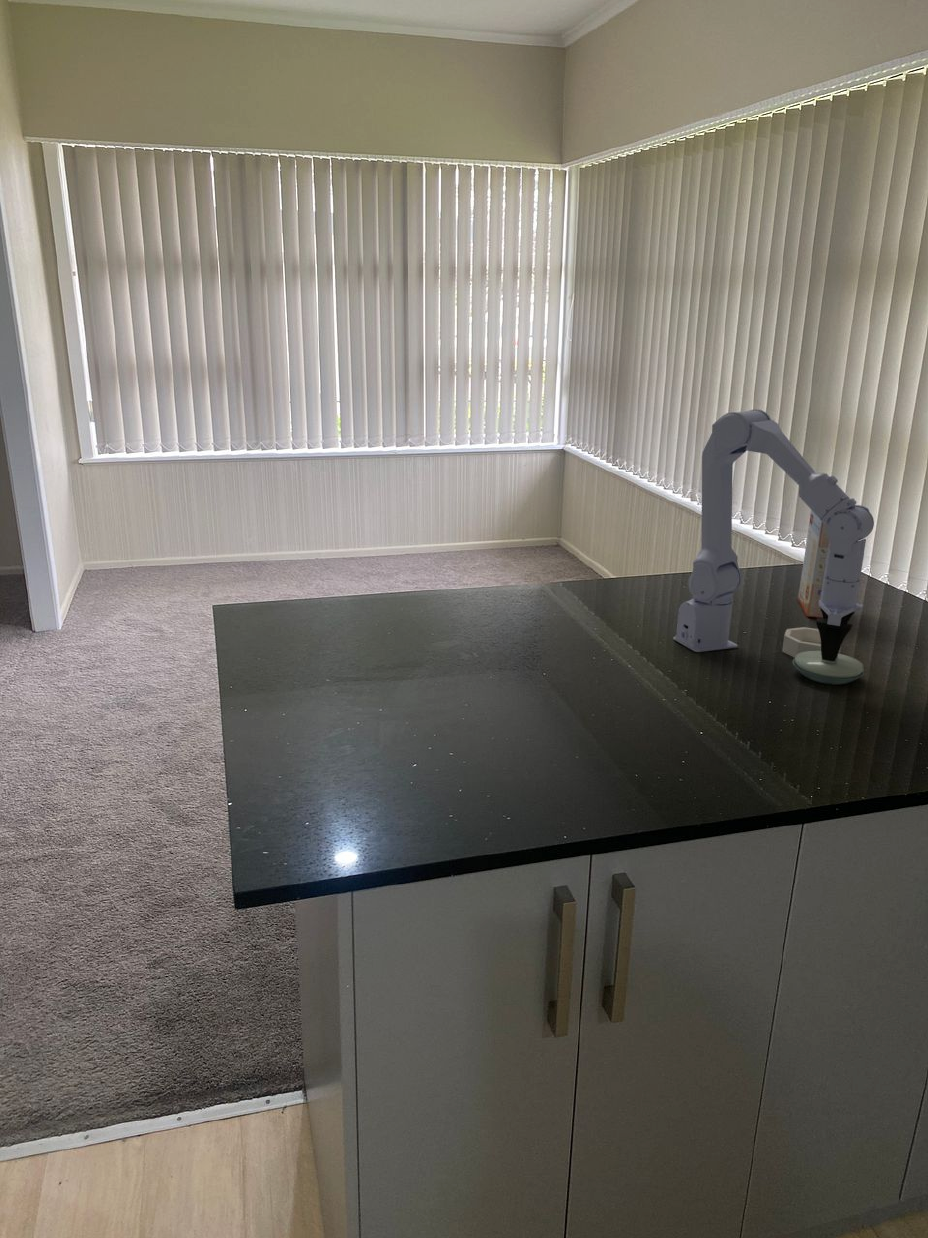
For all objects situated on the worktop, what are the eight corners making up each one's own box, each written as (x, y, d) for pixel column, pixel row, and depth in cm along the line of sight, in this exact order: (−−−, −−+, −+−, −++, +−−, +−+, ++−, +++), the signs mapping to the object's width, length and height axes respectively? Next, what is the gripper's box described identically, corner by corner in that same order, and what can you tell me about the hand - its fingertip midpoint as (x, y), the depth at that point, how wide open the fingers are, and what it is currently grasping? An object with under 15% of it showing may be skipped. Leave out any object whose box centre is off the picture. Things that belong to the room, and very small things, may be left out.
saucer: (805, 661, 173) (806, 649, 173) (871, 677, 166) (873, 665, 166) (780, 678, 165) (782, 666, 164) (849, 696, 158) (851, 684, 157)
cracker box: (835, 620, 197) (851, 522, 190) (805, 617, 198) (820, 520, 191) (825, 601, 210) (839, 508, 203) (797, 599, 211) (810, 506, 204)
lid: (821, 680, 158) (824, 659, 157) (781, 657, 168) (784, 637, 167) (876, 674, 161) (880, 654, 160) (834, 652, 171) (837, 633, 170)
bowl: (807, 664, 171) (810, 647, 170) (772, 646, 180) (774, 630, 179) (851, 658, 175) (853, 642, 174) (814, 641, 183) (816, 625, 182)
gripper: (865, 591, 152) (852, 670, 156) (868, 571, 165) (856, 644, 169) (819, 586, 155) (807, 663, 159) (825, 565, 167) (814, 638, 172)
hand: (829, 653), depth 164 cm, fingers open, 7 cm apart
